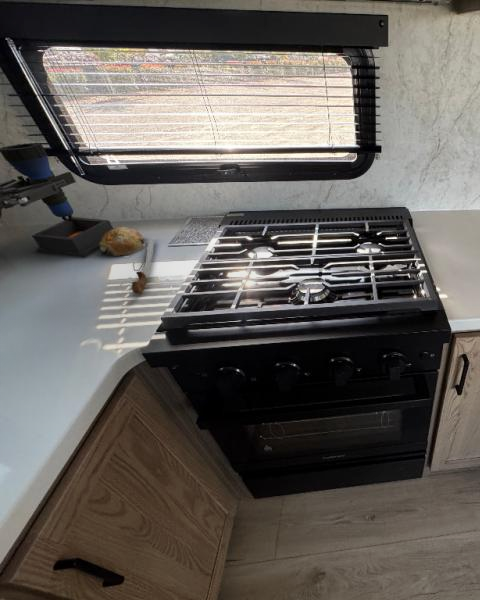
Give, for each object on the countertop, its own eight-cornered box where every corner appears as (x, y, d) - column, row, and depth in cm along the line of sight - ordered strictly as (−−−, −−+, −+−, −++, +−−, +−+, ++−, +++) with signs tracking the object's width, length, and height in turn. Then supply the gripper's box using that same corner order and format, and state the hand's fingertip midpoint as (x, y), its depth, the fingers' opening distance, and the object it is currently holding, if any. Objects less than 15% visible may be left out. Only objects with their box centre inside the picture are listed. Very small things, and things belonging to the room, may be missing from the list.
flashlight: (60, 217, 99) (12, 142, 87) (91, 214, 101) (48, 141, 88) (43, 228, 93) (-11, 150, 81) (75, 226, 94) (27, 149, 82)
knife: (136, 286, 79) (150, 228, 100) (129, 287, 79) (145, 228, 100) (145, 300, 82) (157, 241, 103) (138, 302, 82) (152, 242, 103)
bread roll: (144, 264, 100) (147, 239, 97) (97, 259, 94) (99, 232, 91) (143, 249, 107) (146, 225, 104) (99, 244, 100) (101, 218, 97)
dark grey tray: (38, 253, 97) (26, 235, 94) (79, 232, 107) (69, 215, 104) (86, 258, 96) (74, 240, 92) (122, 236, 106) (113, 220, 102)
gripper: (-11, 196, 73) (84, 164, 91) (-83, 190, 75) (25, 159, 93) (12, 229, 77) (99, 192, 96) (-55, 222, 79) (42, 187, 98)
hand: (62, 176), depth 94 cm, fingers closed on flashlight, 5 cm apart
